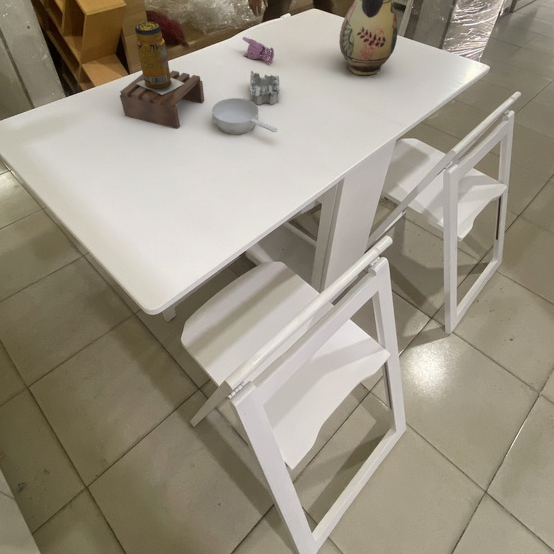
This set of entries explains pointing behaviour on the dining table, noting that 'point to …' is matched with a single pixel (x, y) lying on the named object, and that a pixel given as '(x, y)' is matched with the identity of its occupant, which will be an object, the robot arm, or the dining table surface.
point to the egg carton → (264, 88)
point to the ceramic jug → (368, 35)
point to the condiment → (154, 59)
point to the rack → (160, 100)
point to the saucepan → (237, 116)
